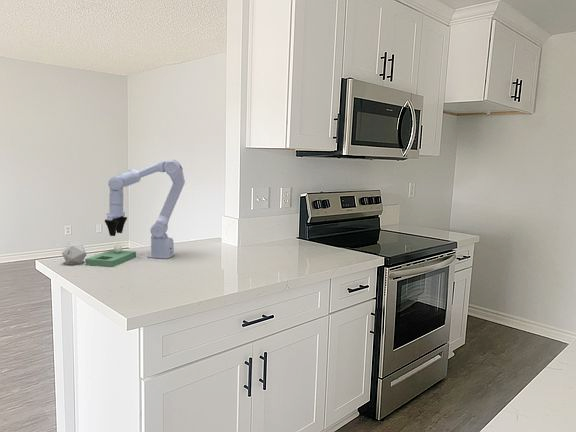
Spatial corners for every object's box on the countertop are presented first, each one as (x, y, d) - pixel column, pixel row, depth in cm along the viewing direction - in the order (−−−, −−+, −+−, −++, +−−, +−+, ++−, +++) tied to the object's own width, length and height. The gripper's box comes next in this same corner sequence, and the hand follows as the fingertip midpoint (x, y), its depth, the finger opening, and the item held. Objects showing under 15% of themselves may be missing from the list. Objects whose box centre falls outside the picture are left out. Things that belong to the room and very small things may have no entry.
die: (59, 264, 190) (55, 248, 183) (76, 250, 196) (72, 234, 189) (76, 272, 188) (72, 257, 181) (91, 259, 194) (89, 243, 188)
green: (136, 257, 203) (136, 251, 203) (112, 267, 185) (112, 261, 184) (111, 255, 205) (111, 249, 205) (85, 264, 187) (85, 259, 186)
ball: (123, 252, 201) (123, 244, 200) (119, 253, 197) (119, 245, 197) (116, 251, 201) (116, 243, 201) (112, 253, 198) (112, 245, 198)
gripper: (114, 201, 208) (113, 231, 209) (100, 205, 193) (100, 236, 195) (129, 202, 207) (129, 232, 209) (116, 206, 193) (116, 237, 195)
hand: (116, 234), depth 202 cm, fingers open, 7 cm apart
